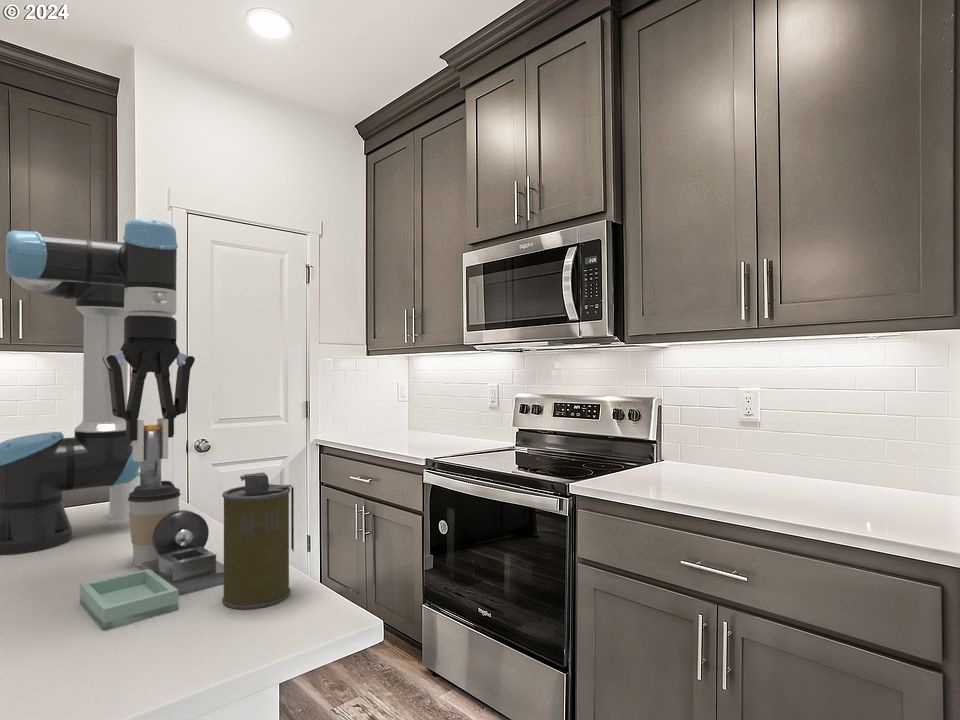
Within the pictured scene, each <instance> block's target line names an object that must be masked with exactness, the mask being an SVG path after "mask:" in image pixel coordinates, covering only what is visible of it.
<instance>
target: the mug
mask: <svg viewBox="0 0 960 720" xmlns="http://www.w3.org/2000/svg"><path fill="white" fill-rule="evenodd" d="M137 486H140V471H138V473H137V476H136V477H135V479H134V480H133V481H131V482H129V483H125V484H118V485H114V486H109V519H110V520H116V521H121V520H130V518H129V512H130V506H129V501H128V498H129V494H130V493H131V492H133V491H134V489H135V487H137Z"/></svg>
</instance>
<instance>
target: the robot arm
mask: <svg viewBox="0 0 960 720" xmlns="http://www.w3.org/2000/svg"><path fill="white" fill-rule="evenodd" d="M5 239H6V240H5V271H6V274H7V275H8V276H9V277H10V279H11V281H13V282H14V284H16V285H17V286H19V287H20V288H22V289H24V290H27V291H28V292H32V293H34V294H38V295H41V296H44V297H48V298H49V297H50V298H53V299H54V298H55V299H64V300H75V309H76V310H77V311H78V312H79V313H80V314H82V316H83V370H82V372H83V375H82V377H83V378H82V381H83V383H82V386H83V387H82V395H83V396H82V421H81V423H80V424H78V426H76V427H75V428H74V436H73V437H65V436H64V434H63V432H61V431H52V432H51V431H49V432H42V433H41V432H40V433H35V434H29V435H24V436H19V437H14V438H9V439H6V440H4V441H2V442H0V555H13V554H14V555H15V554H22V553H24V554H25V553H30V552H36V551H41V550H45V549H49V548H52V547H56V546H60V545H62V544H65V543H67V542H69V541H70V540H72V538H73V527H72V525H71V523H70V519H69V517H68V515H67V511H66V509H65V507H64V504H63V492H66V491H74V490H76V491H77V490H81V489H91V488H100V487H108V486H109V487H110V486H114V485H118V484H125V483H129V482H131V481H133V480H134V479H135V477H136V476H137V473H138V472H140V462H142V461H144V423H145V421H144V420H142V419H139V416H140V409H141V405H142V398H143V392H144V385H145V380H146V378H147V375H148V373H154V377H155V380H156V386H157V391H158V397H159V403H160V404H159V405H160V408H161V409H160V410H161V411H160V412H161V415H162V417H161V418H160V417H159V418H157V419H156V423H157V424H156V425H161V460H166V459H167V460H168V459H169V438H174V436H175V419H176V418H177V416H180V415H183V414H186V412H187V408H188V397H189V396H188V395H189V387H190V377H191V369H192V367H193V365H194V363H195V361H196V360H195V359H196V358H195V356H193V355H187V354H184V353H183V352H180V348H179V347H178V344H177V335H178V334H177V320H176V318H175V317H173V316H175V315H176V314H177V261H178V259H177V254H178V253H177V252H178V250H177V249H178V246H179V245H178V243H177V241H178V240H177V230H176V228H175V227H174V226H173V225H172V224H170V223H167V222H164V221H161V220H156V219H155V220H154V219H145V218H139V219H131V220H128V221H127V222H126V223H125V225H124V235H123V237H122V239H123V241H124V242H120V241H112V240H105V239H104V240H103V239H102V240H101V239H95V238H94V239H93V238H86V237H85V238H84V237H76V236H67V235H58V234H50V233H42V232H38V231H32V230H29V231H23V230H10V231H9V232H8V233H7V234H6V238H5ZM175 360H176V365H177V371H176V378H175V379H176V380H175V388H174V399H173V393H172V387H171V386H172V385H171V380H170V378H171V371H170V367H171V365H173V363H174V362H175ZM128 365H130V367H131V375H130V377H131V379H130V385H129V386H130V387H129V391H128ZM128 392H129V393H128Z"/></svg>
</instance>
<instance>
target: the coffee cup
mask: <svg viewBox="0 0 960 720" xmlns="http://www.w3.org/2000/svg"><path fill="white" fill-rule="evenodd" d="M181 495H182V494H181V490H180V488H178V487H176V486H175V485H174V483H173V482H172V481H170V480H161V487H157V488H150V489H141V488H140V486H137V487H135V489H134V491H133V492H131V493H130V494H129V498H128V501H129V506H130V512H129V518H130V519H129V527H130V538H131V544H132V551H133V563H134V567H135V566H136V567H139V568H141V563H142V562H147V561H151V560H156V559H159V554H158V553H157V552H156V551H155V549H154V547H153V543H152V537H153V533H154V530H155V528H156V526H157V524H158V523H159V522H160V521H161V520H162V519H163V518H164V517H165V516H167V515H168V514H170V513H172V512H175V511H179V510H180V505H179V504H180V496H181Z"/></svg>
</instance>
